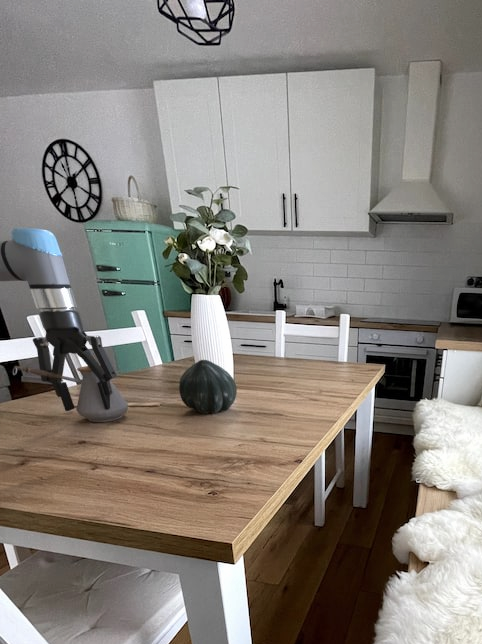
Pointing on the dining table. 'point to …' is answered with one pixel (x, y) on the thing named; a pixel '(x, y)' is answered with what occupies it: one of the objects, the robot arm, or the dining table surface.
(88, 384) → the coffee pot
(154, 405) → the oak strip
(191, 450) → the dining table surface
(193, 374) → the squash
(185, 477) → the dining table surface
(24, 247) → the robot arm
